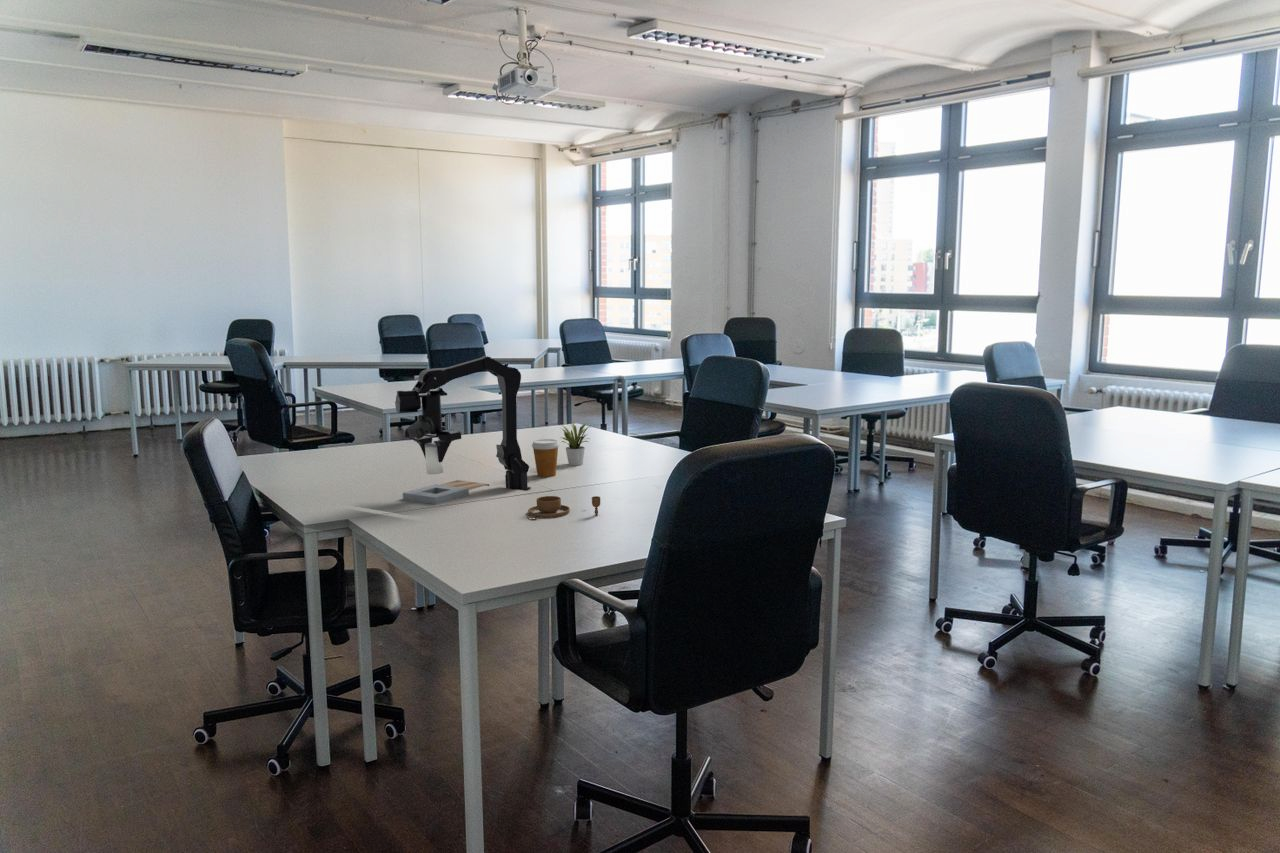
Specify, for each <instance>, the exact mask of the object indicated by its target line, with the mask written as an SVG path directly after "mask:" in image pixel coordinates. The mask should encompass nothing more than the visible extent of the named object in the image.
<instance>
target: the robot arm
mask: <svg viewBox="0 0 1280 853" xmlns="http://www.w3.org/2000/svg"><path fill="white" fill-rule="evenodd" d="M483 371H486V372H489V373H490V374H491V375H493V376H494V377H496V378H497V383H498V387H499V390H500V393H501V400H502V401H501V405H502V406H501V408H502V410H501V412H502V413H501V414H502V418H501V419H502V420H501V421H502V423H501V424H502V439H501V442H500V444H496V445H495V446H496V454H495V457H496V458H498V462H499V464H501V465H502V466H503V467H504V470H505V475H504V477H505V489H508V490H517V491H527V490H530V489H531V488H532V487H530V486H528V472H529V468H530V465H529V464H528V463H527V462H526V461H524V459H523V458H522V451H521V447H520V445H519V442H518V432H517V431H518V426H517V424H518V422H517V420H518V419H517V416H518V415H517V414H518V413H517V411H518V409H517V397H518V392H519V389H520V387H521V382H522V373H521V371H520V370H519V369H518V368H516V367H513V366H512V367H511V366H507V365H505V364H503V363H501V362H500V361H497V360H495V359H494V358H493V357H492V356H488V355H482V356H481V357H479V358H475V359H472V360H468V361H465V362H461V363H458V364H454V365H452V366H447V367H438V368H437V367H436V368H426V369H424V370H422V371H420V373H419V375H418V381H417V382H416V383H415V384H414V387H413V388H412V389H411V390H397V391H396V396H395V401H394V404H395V406H394V407H395V410H396V411H395V412H397V414H408V413H409V414H411V413H417V412H418V411H419V410H421V414H418V420H417V421H415V422H413V423H412V424H411V425H409V426H407V428H405V430H404V438H409V439H410V438H411V439H412V441H413V442H415V443H416V444H418V445H419V447H420V449H421V451H422V454H423V456H424V459H425V460H426V456H425V444H426V443H435V444H436V445H437V451H438V460H439V462H442V461H444V459H445V456H446V454H447V451H448V449H449V448H450V446H451V443H452V442H454V441H458V440H461V439H462V432H461V431H460V430H459V429H455V428H454V429H451V428H449V429H446V427H445V426H443V422H442V420H443V418H445V413H442V403H441V402H442V401H441V400H442V398H441V397H444V396H448V393H447V392H446V391H444V390H443V388H442V387H443V386H445V385H446V384H448V383H450V382H451V381H453V380H456V379H459V378H463V377H466V376H469V375H473V374H476V373H480V372H483ZM433 438H438V439H437V440H434V441H433Z"/></svg>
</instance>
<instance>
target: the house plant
mask: <svg viewBox="0 0 1280 853" xmlns="http://www.w3.org/2000/svg"><path fill="white" fill-rule="evenodd" d="M587 424H589V422H585V423H583V424H582V425H581V426H580V427H579V429H578V430H577V426H576V425H575V424H574V422H572V423H571V424H570V426H571V430H570V431H569V429H568V428H567V427H566V426H564V425H562V424H560V426H561V427H563V428H561V430H562V431H563V435H564V437H559V438H560V439H563V441H561V443H565V444H567V445H568V446H566V447H565V451H566V452H565V453H566V457H567V462H568V466H572V465H577V466H583V464H584V458H585V450H586V449H585V448H586V447H585V446H583V445H581V444H583V443H585V442H587V443H589V441H588V440H591V438H590V437H587V438H586V436H587V435H589V434H588V433H586V431H587V430H588V429H589V428H591V427H593V426H596V424H594V425H590V426H588V427H586V425H587ZM585 427H586V428H585ZM585 433H586V434H585ZM586 439H587V440H586ZM564 440H565V441H564ZM566 441H567V442H566Z"/></svg>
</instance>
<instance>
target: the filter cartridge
mask: <svg viewBox="0 0 1280 853" xmlns="http://www.w3.org/2000/svg"><path fill="white" fill-rule="evenodd" d="M425 456H426V459H425V469H426V470H425V471H426V475H440V474H444V466H443V464H444V462H443V461H444V460H443V461H442V462H439V460H438V451H437V445H436V444H435V443H434V442H432V443H426V444H425ZM425 456H424V457H425Z"/></svg>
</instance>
